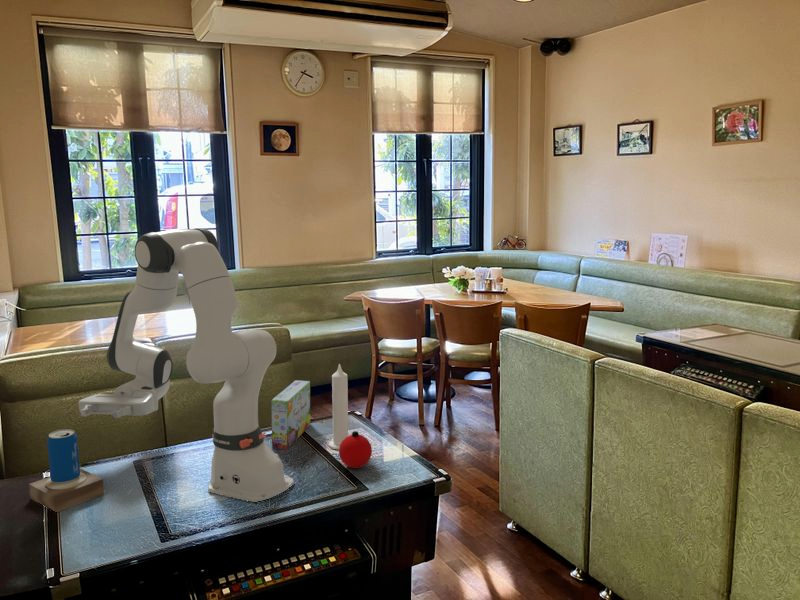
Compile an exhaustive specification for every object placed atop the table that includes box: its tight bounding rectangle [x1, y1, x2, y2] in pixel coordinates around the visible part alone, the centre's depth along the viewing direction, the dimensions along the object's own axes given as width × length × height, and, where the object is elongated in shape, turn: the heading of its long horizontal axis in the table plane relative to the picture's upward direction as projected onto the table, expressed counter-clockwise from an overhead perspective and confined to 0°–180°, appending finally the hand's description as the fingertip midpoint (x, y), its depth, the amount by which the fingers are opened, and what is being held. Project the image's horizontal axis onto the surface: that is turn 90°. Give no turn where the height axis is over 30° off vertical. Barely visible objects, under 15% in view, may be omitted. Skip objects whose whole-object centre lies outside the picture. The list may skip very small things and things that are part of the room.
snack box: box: [270, 379, 311, 450], centre depth 196 cm, size 21×6×15 cm, turn 170°
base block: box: [28, 467, 105, 513], centre depth 158 cm, size 12×12×4 cm
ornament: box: [338, 430, 373, 469], centre depth 175 cm, size 9×9×10 cm
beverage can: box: [46, 428, 81, 484], centre depth 157 cm, size 6×6×12 cm
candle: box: [328, 363, 349, 451], centre depth 188 cm, size 7×7×25 cm
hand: (99, 414), depth 168 cm, fingers open, 8 cm apart
